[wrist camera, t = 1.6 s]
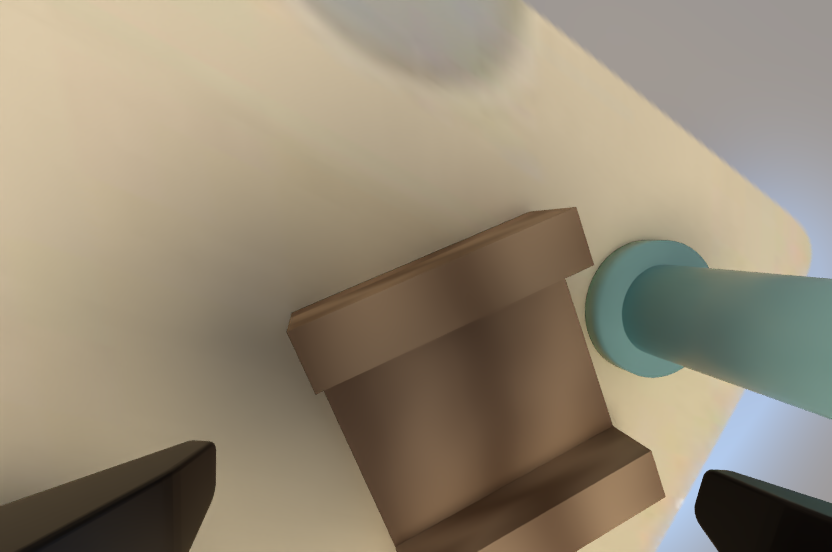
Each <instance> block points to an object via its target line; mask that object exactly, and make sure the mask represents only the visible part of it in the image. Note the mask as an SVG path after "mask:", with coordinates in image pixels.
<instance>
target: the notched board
mask: <svg viewBox="0 0 832 552" xmlns="http://www.w3.org/2000/svg"><path fill="white" fill-rule="evenodd" d="M593 265H594V263H593V260H592V257H591V254H590V250H589V247H588V244H587V241H586V237H585V234H584V231H583V228H582V224H581V221H580V218H579V215H578V211H577V208H576V207H572V208H562V209H552V210H542V211H533V212H528V213H526V214H523V215H521V216H519V217H516V218H514V219H512V220H509V221H507V222H505V223H502V224H500V225H498V226H495V227H493V228H490V229H488V230H486V231H483V232H481V233H479V234H476V235H474V236H472V237H469V238H467V239H465V240H462V241H460V242H457V243H455V244H453V245H450V246H448V247H446V248H443V249H441V250H439V251H436V252H434V253H431V254H429V255H427V256H424V257H422V258H420V259H417V260H415V261H413V262H410V263H408V264H406V265H403V266H401V267H398V268H396V269H394V270H391V271H389V272H387V273H384V274H382V275H380V276H377V277H375V278H373V279H370V280H368V281H365V282H363V283H361V284H358V285H356V286H354V287H351V288H349V289H347V290H344V291H342V292H340V293H337V294H335V295H332V296H330V297H328V298H325V299H323V300H321V301H318V302H316V303H314V304H311V305H309V306H307V307H304V308H302V309H299V310H297V311H295V312H292V314H291V318H290V321H289V325H288V329H287V334H288V336H289V338H290V340H291V343H292V345H293V347H294V349H295V351H296V353H297V356H298V358H299V360H300V362H301V364H302V366H303V368H304V371H305V373H306V375H307V377H308V379H309V381H310V384H311V386H312V388H313V390H314V392H315V394H318V393H320V392H322V391H324V392H325V395H326V397H327V399H328V401H329V403H330V405H331V408H332V410H333V412H334V414H335V416H336V418H337V421H338V423H339V425H340V427H341V429H342V432H343V434H344V436H345V438H346V440H347V442H348V445H349V447H350V449H351V451H352V453H353V455H354V458H355V460H356V462H357V464H358V466H359V469H360V471H361V473H362V475H363V477H364V479H365V482H366V484H367V486H368V488H369V490H370V492H371V495H372V497H373V499H374V501H375V503H376V506H377V508H378V510H379V512H380V514H381V516H382V519H383V521H384V523H385V525H386V527H387V529H388V532H389V534H390V536H391V538H392V540H393V543H394V545H395V547H396V551H397V552H576V551H577V550H579V549H581V548H582V547H584V546H586V545H587V544H589V543H591V542H592V541H594V540H595V539H597V538H599V537H600V536H602V535H604V534H605V533H607V532H609V531H610V530H612V529H614V528H615V527H617V526H618V525H620V524H622V523H623V522H625V521H627V520H628V519H630V518H632V517H633V516H635V515H637V514H638V513H640V512H641V511H643V510H645V509H646V508H648V507H650V506H651V505H653V504H655V503H656V502H658V501H660V500H661V499H663V498H664V497H665V493H664V490H663V487H662V484H661V480H660V477H659V474H658V471H657V468H656V464H655V461H654V458H653V455H652V451H651V450H649V449H648V448H646V447H645V446H643V445H642V444H640V443H638V442H637V441H635V440H634V439H632V438H631V437H629V436H628V435H626V434H624V433H623V432H621V431H620V430H618V429H617V428H615V427H614V426H613V425H612V422H611V419H610V416H609V413H608V410H607V407H606V403H605V400H604V397H603V394H602V391H601V388H600V385H599V382H598V379H597V376H596V373H595V369H594V366H593V363H592V360H591V357H590V354H589V351H588V348H587V345H586V342H585V339H584V336H583V332H582V329H581V326H580V323H579V320H578V317H577V314H576V311H575V308H574V305H573V302H572V298H571V295H570V292H569V289H568V286H567V283H566V280H565V278H567V277H569V276H571V275H574V274H576V273H578V272H580V271H582V270H584V269H586V268H589V267H591V266H593Z"/></svg>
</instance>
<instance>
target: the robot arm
mask: <svg viewBox="0 0 832 552" xmlns="http://www.w3.org/2000/svg"><path fill="white" fill-rule="evenodd" d="M215 486H216V447H215V444H214V443H213V442H210V441H195V440H192V441H187V442H184V443H181V444H178V445H175V446H173V447H170V448H167V449H164V450H161V451H158V452H155V453H152V454H149V455H147V456H144V457H141V458H138V459H135V460H132V461H129V462H126V463H123V464H121V465H118V466H115V467H112V468H109V469H106V470H103V471H100V472H97V473H95V474H92V475H89V476H86V477H83V478H80V479H77V480H74V481H71V482H69V483H66V484H63V485H60V486H57V487H54V488H51V489H48V490H45V491H43V492H40V493H37V494H34V495H31V496H28V497H25V498H22V499H19V500H16V501H14V502H11V503H8V504H5V505H2V506H0V552H189V550H190V548H191V546H192V544H193V541H194V539H195V537H196V535H197V533H198V530H199V528H200V526H201V524H202V522H203V519H204V517H205V515H206V513H207V510H208V508H209V506H210V504H211V501H212V499H213V496H214V492H215ZM695 515H696V518H697V521H698V523H699V524H700V526H701V527H702V529H703V530H704V532H705V533H706V535H707V536H708V537H709V539H710V540H711V542H712V543H713V544H714V546H715V547H716V549H717V550H718V552H832V503H829V502H826V501H823V500H820V499H817V498H814V497H810V496H807V495H804V494H801V493H798V492H795V491H792V490H789V489H786V488H783V487H779V486H776V485H773V484H770V483H767V482H764V481H761V480H758V479H755V478H752V477H748V476H745V475H742V474H739V473H736V472H733V471H728V470H709V471H707V472H706V473H705V474H704V476H703V479H702V482H701V486H700V489H699V492H698V496H697V499H696V503H695Z"/></svg>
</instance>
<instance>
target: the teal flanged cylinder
mask: <svg viewBox="0 0 832 552" xmlns="http://www.w3.org/2000/svg"><path fill="white" fill-rule="evenodd" d="M585 317H586V325H587V330H588V333H589V336H590V339H591V341H592V343H593V345H594V346H595V348H596V349H597V351H598V352H599V353H600V354H601V355H602V357H603V358H605V359H606V360H607V361H608V362H610V363H611V364H613V365H615V366H617V367H619V368H622V369H624V370H626V371H629V372H631V373H633V374H636V375H638V376H643V377H651V378H655V377H662V376H667V375H670V374H672V373H675V372H677V371H678V370H680V369H682V368H683V367H686V368H689V369H692V370H695V371H698V372H700V373H703V374H706V375H709V376H712V377H714V378H717V379H720V380H723V381H725V382H728V383H731V384H734V385H737V386H739V387H742V388H745V389H748V390H751V391H754V392H757V393H759V394H762V395H765V396H767V397H770V398H773V399H776V400H779V401H781V402H784V403H787V404H790V405H793V406H796V407H798V408H801V409H804V410H807V411H809V412H812V413H815V414H818V415H821V416H823V417H826V418H829V419H832V279H827V278H815V277H804V276H792V275H781V274H769V273H758V272H746V271H735V270H723V269H711V268H709V267H708V265H707V264H706V262H705V261H704V260H703V258H702V257H701V256H700V255H699V254H698V253H697V252H696V251H694V250H693V249H692V248H690V247H688V246H686V245H684V244H682V243H679V242H675V241H667V240H641V241H635V242H632V243H629V244H626V245H624V246H622V247H620V248H619V249H617V250H616V251H614V252H613V253H612V254H611V255H610V256H609V257H607V259H606V260H605V261H604V262H603V263H602V264H601V266H600V267H599V268H598V270H597V271H596V273H595V275H594V277H593V279H592V281H591V284H590V286H589V290H588V293H587V298H586V306H585Z"/></svg>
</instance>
